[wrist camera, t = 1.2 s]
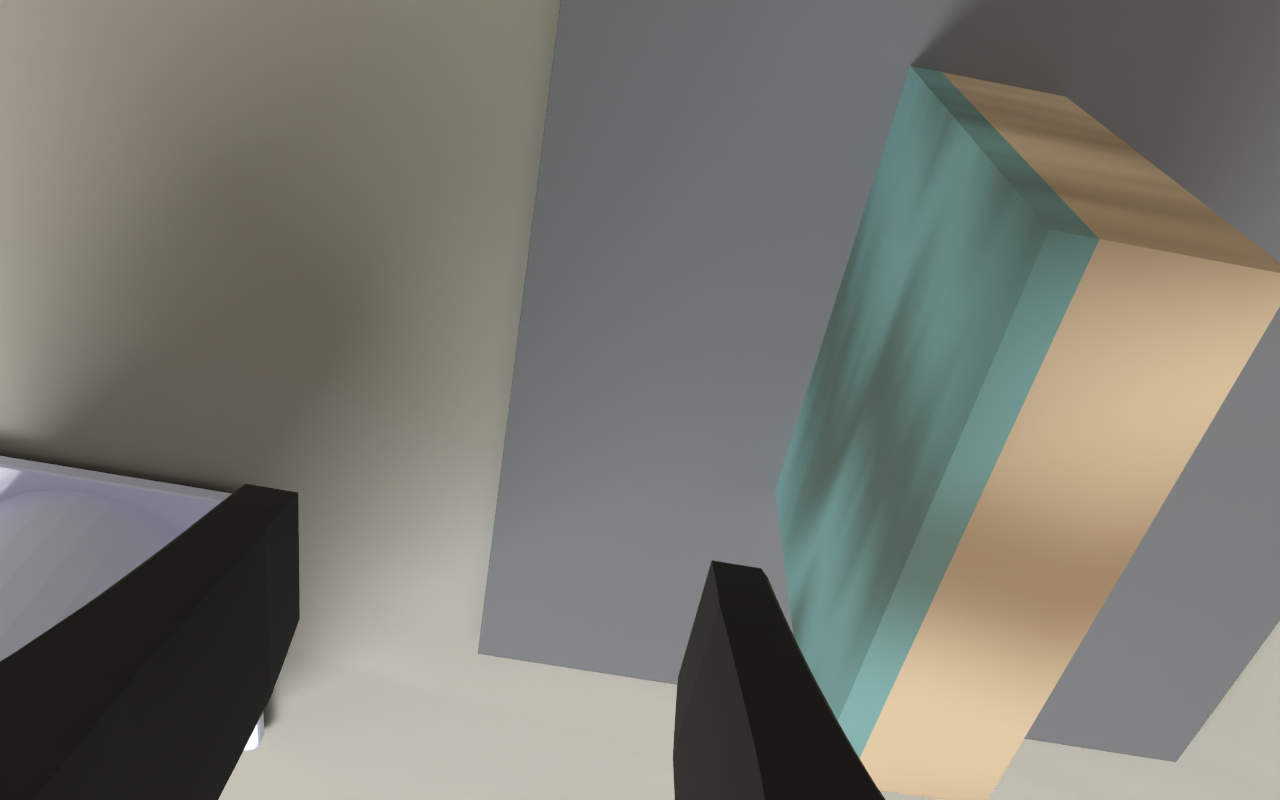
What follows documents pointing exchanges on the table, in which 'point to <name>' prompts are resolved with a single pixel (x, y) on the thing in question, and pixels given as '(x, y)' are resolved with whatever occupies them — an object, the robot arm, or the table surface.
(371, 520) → the table surface
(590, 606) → the mat
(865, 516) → the teal and tan block
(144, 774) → the robot arm
